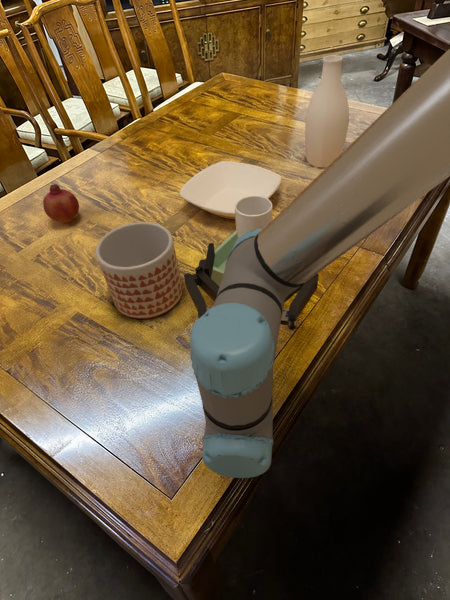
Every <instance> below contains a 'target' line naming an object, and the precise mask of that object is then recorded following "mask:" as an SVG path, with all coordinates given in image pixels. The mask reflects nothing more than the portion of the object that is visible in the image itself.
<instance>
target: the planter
mask: <svg viewBox="0 0 450 600" xmlns="http://www.w3.org/2000/svg"><path fill="white" fill-rule="evenodd" d="M95 257H96V260H97V262H98V265H99V267H100V270H101V272H102V276H103V278H104V280H105V284H106V286H107V288H108V290H109V294H110V295H111V298H112V302H113V303H114V306H115V308H116V310H118V312H120V313H121V314H122V315H124V316H126V317H129V318H132V319H137V320H138V319H139V320H145V319H153V318H157V317H159V316H162V315H164V314H166V313H167V312H169V311H170V310H172V309H174V307H175V306H176V305H178V303H179V301H180V300H181V298H182V296H183V290H184V287H183V282H182V277H181V272H180V267H179V262H178V258H177V253H176V248H175V243H174V239H173V235H172V233H171V232H170V230H169V229H167V228H166V227H165V226H163V225H162V224H159V223H155V222H151V221H137V222H130V223H126V224H123V225H120V226H117V227H115V228H113V229H112V230H110V231H108V232H107V233H105V234H104V235H103V236H102V237H101V238H100V240H99V241H98V243H97V244H96V247H95Z"/></svg>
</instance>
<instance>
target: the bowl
mask: <svg viewBox="0 0 450 600" xmlns="http://www.w3.org/2000/svg"><path fill="white" fill-rule="evenodd" d="M282 179H283V178H282V176H281V175H280V174H278V173H276V172H274V171H273V170H270V169H268V168H265V167H262V166H258V165H255V164H251V163H250V164H249V163H246V162H240V161H234V160H232V161H231V160H221V161H218V162H216V163H213V164H211V165H209V166H207V167H205V168H203V169H202V170H200V171H199V172H198V173H195V174H194V175H193V176H192V177H191V178H189V179H188V180H187V181H186V182H185V183H184V184H183V185H182V187H181V189H180V190H179V192H178V195H179V196H181V198H182V199H183V200H184V201H187V202H188V203H190V204H192V205H194V206H196V207H197V208H199V209H202V210H204V211H206V212H207V213H209V214H211V215H213V216H216V217H220V218H224V219H227V220H229V219H230V220H235V205H236V203H237V202H238V201H239V200H240V199H242V198H244V197H248V196H262V197H265V198H267V199H269V198H271V197H272V196H273V195H274V193H276V191H277V190H278V188H279V187H280V185H281V183H282Z"/></svg>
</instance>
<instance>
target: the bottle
mask: <svg viewBox="0 0 450 600" xmlns="http://www.w3.org/2000/svg"><path fill="white" fill-rule="evenodd" d="M343 60H344V59H343V56H341V55H338V54H337V55H336V54H331V55H326V56H324V57H323V58H322V70H321V77H320V81H319V83H318V84H317V86H316V88H315V90H314V91H313V93H312V94H311V97H310V100H309V102H308V106H307V108H306V114H305V118H304V121H305V122H304V145H305V147H304V148H305V158H306V161H307V163H308V164H309V165H311V166H312V167H315V168H324V169H326V168H327V167H328V166H329V165H330V164H331V163H332V162H333V161H334V160H335V159H336V158H337V157H338V156H339V155H340V154H341V153H342V152H343V151H344V148H345V145H346V141H347V140H346V139H347V135H348V129H349V123H350V107H349V101H348V95H347V94H348V93H347V92H346V90H345V87H344V85H343V82H342V79H341V76H342V63H343V62H342V61H343Z"/></svg>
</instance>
